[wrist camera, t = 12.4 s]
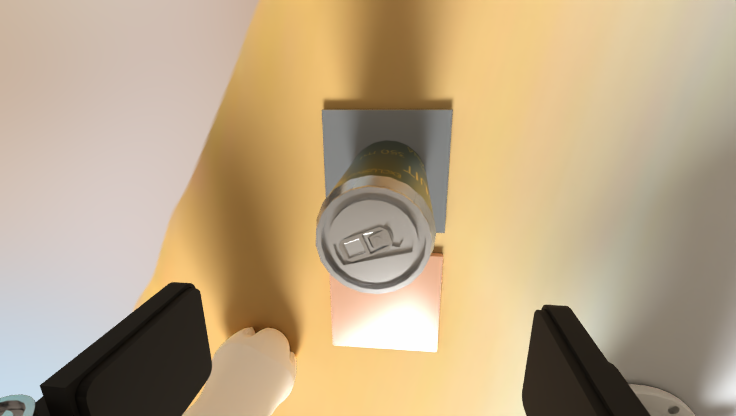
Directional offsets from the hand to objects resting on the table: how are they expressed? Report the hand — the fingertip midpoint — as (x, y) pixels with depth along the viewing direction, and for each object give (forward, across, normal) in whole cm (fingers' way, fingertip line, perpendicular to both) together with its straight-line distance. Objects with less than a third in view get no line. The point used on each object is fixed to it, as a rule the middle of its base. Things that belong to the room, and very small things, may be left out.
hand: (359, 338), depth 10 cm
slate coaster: (+18, +1, -1) cm, 18 cm away
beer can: (+18, 0, -1) cm, 18 cm away
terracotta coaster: (+18, +1, +10) cm, 21 cm away
